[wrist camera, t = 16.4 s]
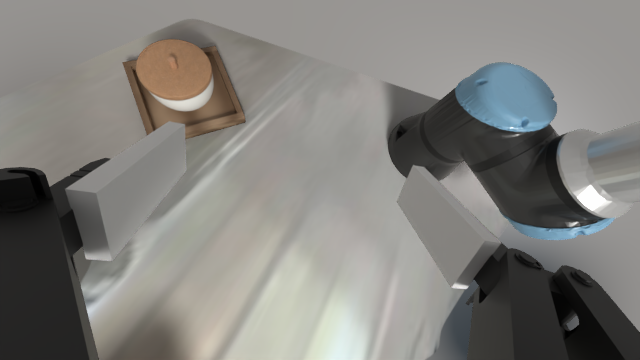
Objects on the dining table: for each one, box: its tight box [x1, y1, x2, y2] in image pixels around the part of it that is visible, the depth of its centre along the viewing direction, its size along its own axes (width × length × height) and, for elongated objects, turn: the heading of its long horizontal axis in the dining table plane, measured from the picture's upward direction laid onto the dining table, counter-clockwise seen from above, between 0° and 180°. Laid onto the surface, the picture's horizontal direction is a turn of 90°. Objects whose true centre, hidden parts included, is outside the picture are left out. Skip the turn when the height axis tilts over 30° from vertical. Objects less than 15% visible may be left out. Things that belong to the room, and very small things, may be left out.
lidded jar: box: [136, 39, 214, 111], centre depth 42 cm, size 11×11×9 cm
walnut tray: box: [123, 46, 245, 139], centre depth 46 cm, size 16×16×2 cm
